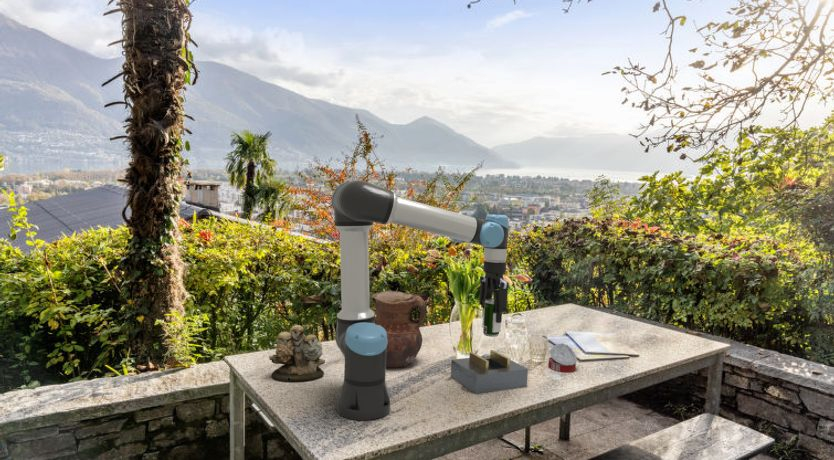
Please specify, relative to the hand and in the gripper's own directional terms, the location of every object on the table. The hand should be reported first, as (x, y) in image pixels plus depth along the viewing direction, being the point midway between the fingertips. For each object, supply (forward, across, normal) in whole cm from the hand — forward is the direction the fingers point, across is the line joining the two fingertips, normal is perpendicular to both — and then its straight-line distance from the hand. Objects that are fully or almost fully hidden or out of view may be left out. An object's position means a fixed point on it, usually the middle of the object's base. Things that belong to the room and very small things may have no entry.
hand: (491, 329), depth 166 cm
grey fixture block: (+18, +1, -1) cm, 18 cm away
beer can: (+2, 0, 0) cm, 2 cm away
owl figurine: (+18, +25, +59) cm, 67 cm away
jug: (+18, +29, +23) cm, 41 cm away
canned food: (+18, +3, -35) cm, 40 cm away
